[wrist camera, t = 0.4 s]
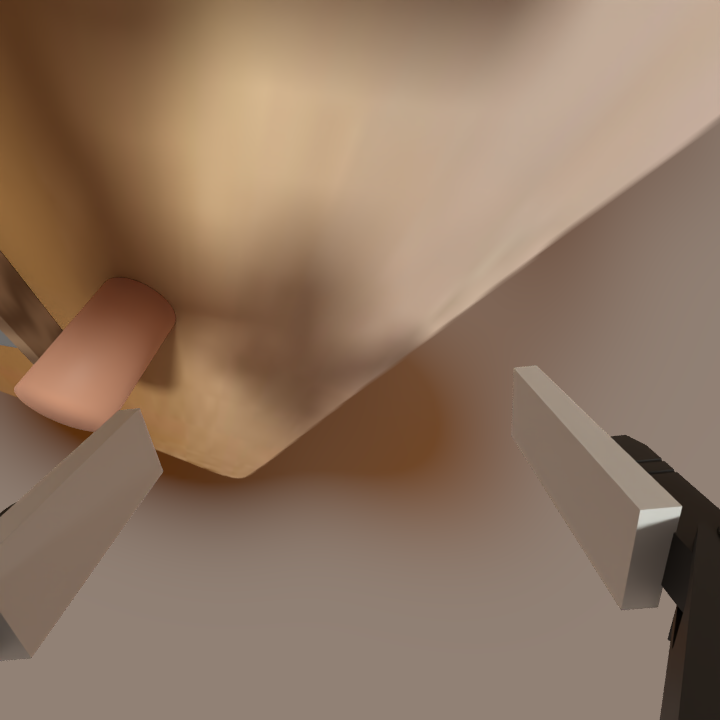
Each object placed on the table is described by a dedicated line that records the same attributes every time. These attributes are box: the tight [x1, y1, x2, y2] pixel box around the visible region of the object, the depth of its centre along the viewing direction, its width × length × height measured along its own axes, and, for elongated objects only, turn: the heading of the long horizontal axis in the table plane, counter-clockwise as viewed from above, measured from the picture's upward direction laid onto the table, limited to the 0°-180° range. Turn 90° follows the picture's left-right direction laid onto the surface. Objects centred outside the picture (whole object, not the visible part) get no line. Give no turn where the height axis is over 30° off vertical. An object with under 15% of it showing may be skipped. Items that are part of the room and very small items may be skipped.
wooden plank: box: [0, 251, 62, 364], centre depth 40 cm, size 26×2×4 cm, turn 176°
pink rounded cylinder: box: [14, 277, 176, 432], centre depth 36 cm, size 7×7×12 cm
